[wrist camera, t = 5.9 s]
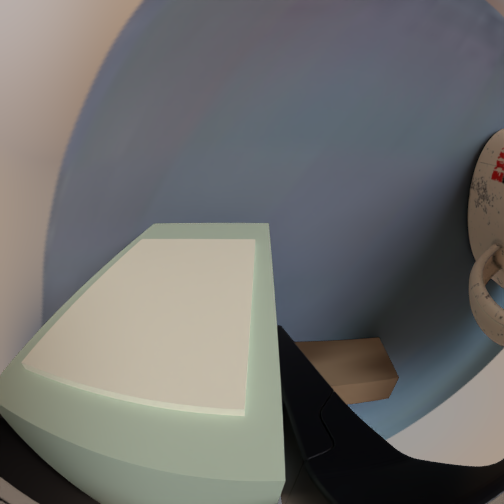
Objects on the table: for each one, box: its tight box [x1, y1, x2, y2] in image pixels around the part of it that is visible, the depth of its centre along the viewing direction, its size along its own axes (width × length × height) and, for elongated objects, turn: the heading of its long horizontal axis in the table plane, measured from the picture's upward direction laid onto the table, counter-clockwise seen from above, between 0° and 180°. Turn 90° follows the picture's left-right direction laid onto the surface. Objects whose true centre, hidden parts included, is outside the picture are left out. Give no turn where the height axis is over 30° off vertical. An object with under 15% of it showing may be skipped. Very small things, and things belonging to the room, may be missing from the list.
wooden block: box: [295, 337, 399, 404], centre depth 12 cm, size 12×2×3 cm, turn 90°
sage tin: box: [0, 223, 285, 504], centre depth 7 cm, size 4×6×8 cm, turn 0°
